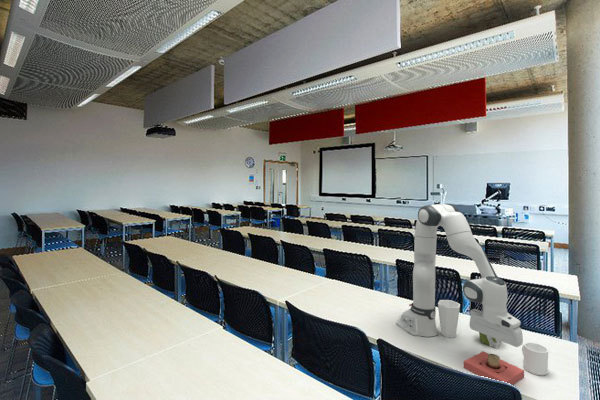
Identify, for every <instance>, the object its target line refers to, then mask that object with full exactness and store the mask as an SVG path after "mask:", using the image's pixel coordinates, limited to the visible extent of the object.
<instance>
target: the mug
mask: <svg viewBox="0 0 600 400" xmlns="http://www.w3.org/2000/svg"><path fill="white" fill-rule="evenodd" d="M521 346H522V347H521V353H522V355H523V368H524V370H525V371H527V372H528V373H531V374H533V375H536V376H546V375H547V374H548V370H549V367H548V365H549V349H548V348H547V347H546V346H545V345H543V344H540V343H538V342H537V343H536V342H524V344H522V345H521Z"/></svg>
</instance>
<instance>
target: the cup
mask: <svg viewBox="0 0 600 400" xmlns="http://www.w3.org/2000/svg"><path fill="white" fill-rule="evenodd" d="M437 306H438V307H437V308H438V309H437V310H438V317H439V319H438V320H439V328H440V334H441V336H444V337H445V338H449V339H450V338H451V339H455V338H456V336H457V329H458V323H459V317H460V310H461V309H460V308H461V304H460V303H458V302H457V301H454V300H450V299H439V301H438V302H437Z"/></svg>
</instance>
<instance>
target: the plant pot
mask: <svg viewBox="0 0 600 400" xmlns="http://www.w3.org/2000/svg"><path fill="white" fill-rule="evenodd" d="M478 335H479V341H480V342H481V343H482V344H484V345H487V346H490V342H489V341H488V339H487V335H485V334H482V333H480V332H478ZM492 339H493V342H495V343H497V341H496V339H495V338H492Z"/></svg>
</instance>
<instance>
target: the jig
mask: <svg viewBox="0 0 600 400" xmlns="http://www.w3.org/2000/svg"><path fill="white" fill-rule="evenodd" d="M488 354H489V353H488V352H486V351H481V352H479V353H477V354H475V355H473V356H471V357H469V358H467V359H465V360H463V369H466V370H467V371H469V372H470V373H473V374H475V375H477V376H478V375H480V376H484V377H488V378H491V379H495V380H499V381H504V382H507V383H510V384H512V385H511V386H513V385H514V384H516V383H517V382H519V381H521V380H523V379H524V378H525V369H522V368H520V367H518V366H516V365H513V364H511V363H509V362H507V361H504V360H503V359H501V358H499V369H492V368H490V367H488ZM480 376H479V377H480Z"/></svg>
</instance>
